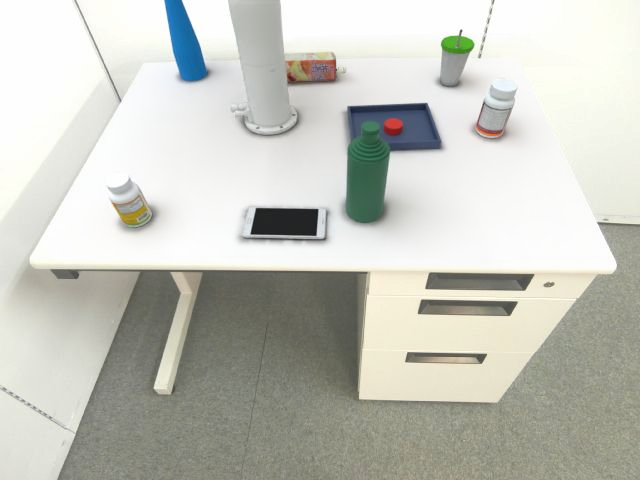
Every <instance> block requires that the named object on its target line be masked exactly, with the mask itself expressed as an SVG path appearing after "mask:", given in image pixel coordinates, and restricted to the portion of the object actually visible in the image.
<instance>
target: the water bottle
mask: <svg viewBox="0 0 640 480" xmlns="http://www.w3.org/2000/svg"><path fill="white" fill-rule="evenodd" d="M379 132H380V126H379V124H378V123H377V122H374V121H367V122H364V123H363V124H362V126H361V136H359V137H357V138H355V139H354V140H353V141H352V142H351V141H350V143H349V144H348V146H347V153H346V154H347V155H346V190H345V191H346V193H345V212H346V214H347V216H348V217H349V218H350V219H351V220H353V221H355V222H357V223H361V224H369V223H373V222H376V221H377V220H379V219H380V218H381V216H382V215H383V212H384V206H385V205H384V203H385V196H386V188H387V182H388V181H387V179H388V173H389V167H390V166H389V165H390V164H389V163H390V158H391V151H390V147H389V145H388V143H387V142H386V141H385V140H383V139H382V138H381V137H379Z"/></svg>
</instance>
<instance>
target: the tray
mask: <svg viewBox="0 0 640 480" xmlns="http://www.w3.org/2000/svg"><path fill="white" fill-rule="evenodd" d="M346 114H347V123H348V131H349V139H350V143H351V142H352V141H353V140H354V139H355V138H357V137H359V136H361V126H362V124H363V123H364V122H367V121H374V122H377V123H378V124H379V126H380V132H379V137H381V138H382V139H383V140H385V141H386V142H387V143H388V145H389V147H390V152H391V151H413V150H438V149H440V148H441V144H442V139H441V136H440V134H439V131H438V128H437V125H436V123H435V120H434V116H433V114H432V111H431V109H430V106H429V104H428V102H414V103H413V102H412V103H411V102H410V103H392V104H391V103H388V104H386V103H385V104H366V105H365V104H364V105H347V106H346ZM392 118H394V119H399V120H400V121H402V123H403V125H402V132H401V133H400V134H398V135H388V134H386V133H385V132H384V123H385V121H386V120H388V119H392Z"/></svg>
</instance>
